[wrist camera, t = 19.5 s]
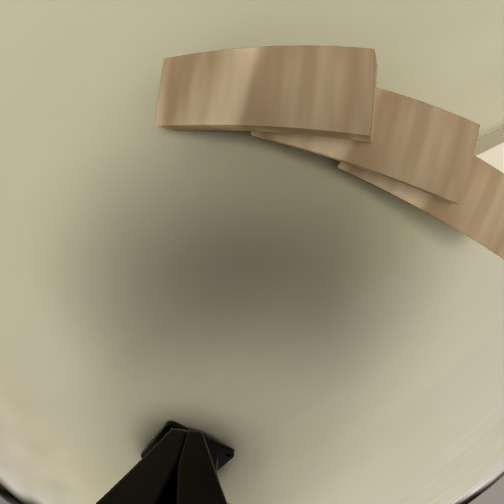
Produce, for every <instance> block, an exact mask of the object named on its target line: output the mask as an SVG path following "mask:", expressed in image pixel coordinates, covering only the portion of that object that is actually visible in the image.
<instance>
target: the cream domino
mask: <svg viewBox="0 0 504 504" xmlns="http://www.w3.org/2000/svg"><path fill="white" fill-rule="evenodd" d="M474 155H475V156H477V157H478V158H480V159H482V160H483V161H485V162H487V163H488V164H490V165H491V166H493V167H495V168H496V169H498V170H499V171H501V172H502V173H504V128H503V129H501V130H498V131H496V132H494V133H492V134H489V135H487V136H485V137H483V138H481V139H478V140H477V142H476V146H475V150H474Z"/></svg>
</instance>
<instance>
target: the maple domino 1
mask: <svg viewBox="0 0 504 504" xmlns="http://www.w3.org/2000/svg"><path fill="white" fill-rule="evenodd" d="M376 83H377V62H376V56H375V50H374V49H368V48H356V47H340V46H267V47H251V48H238V49H228V50H219V51H211V52H203V53H196V54H189V55H183V56H177V57H172V58H166V59H164V63H163V70H162V76H161V82H160V89H159V96H158V103H157V111H156V119H155V126H157V127H162V128H167V129H173V130H231V131H257V132H275V133H289V134H302V135H313V136H323V137H332V138H341V139H349V140H356V141H364V142H371V143H372V142H373V130H374V118H375V102H376Z"/></svg>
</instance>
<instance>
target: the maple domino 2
mask: <svg viewBox="0 0 504 504" xmlns="http://www.w3.org/2000/svg"><path fill="white" fill-rule="evenodd" d="M479 127H480V125H479V124H477V123H475V122H472V121H470V120H468V119H465V118H463V117H461V116H458V115H456V114H453V113H451V112H448V111H446V110H443V109H440V108H438V107H435V106H432V105H430V104H427V103H424V102H421V101H418V100H415V99H412V98H409V97H406V96H403V95H400V94H396V93H393V92H390V91H386V90H383V89H379V88H376V102H375V118H374V130H373V142H372V143H371V142H364V141H356V140H349V139H341V138H332V137H323V136H313V135H302V134H289V133H275V132H257V131H251V133H250V135H253V136H256V137H259V138H261V139H264V140H268V141H271V142H275V143H279V144H283V145H286V146H290V147H294V148H297V149H301V150H304V151H308V152H311V153H315V154H318V155H321V156H325V157H328V158H331V159H334V160H337V161H341V162H344V163H347V164H350V165H353V166H356V167H359V168H362V169H365V170H368V171H371V172H373V173H376V174H379V175H382V176H385V177H387V178H390V179H393V180H396V181H398V182H401V183H403V184H406V185H409V186H411V187H414V188H416V189H419V190H421V191H424V192H426V193H429V194H431V195H434V196H436V197H438V198H441V199H443V200H446V201H448V202H450V203H453V204H459V205H460V202H461V199H462V195H463V192H464V188H465V185H466V181H467V178H468V174H469V170H470V167H471V163H472V159H473V155H474V150H475V146H476V142H477V137H478V132H479Z"/></svg>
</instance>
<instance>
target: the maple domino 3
mask: <svg viewBox="0 0 504 504" xmlns="http://www.w3.org/2000/svg"><path fill="white" fill-rule="evenodd" d="M337 168H339V169H342V170H344V171H346V172H348V173H350V174H352V175H355V176H357V177H359V178H361V179H363V180H365V181H367V182H369V183H371V184H373V185H375V186H377V187H379V188H381V189H383V190H385V191H387V192H389V193H391V194H393V195H395V196H397V197H399V198H401V199H403V200H405V201H407V202H409V203H411V204H412V205H414V206H416V207H418V208H420V209H422V210H423V211H425V212H427V213H429V214H431V215H432V216H434V217H436V218H438V219H440V220H441V221H443V222H445V223H446V224H448V225H450V226H452V227H453V228H455V229H457V230H458V231H460V232H462V233H463V234H465V235H467V236H468V237H470V238H472V239H473V240H475V241H476V242H478V243H480V244H481V245H483V246H484V247H486V248H487V249H489V250H491V251H492V252H494V253H495V254H497V255H498V256H500V257H501V258H503V259H504V173H502V172H501V171H499V170H498V169H496V168H495V167H493V166H491V165H490V164H488V163H487V162H485V161H483V160H482V159H480V158H478V157H477V156H475V155H473V159H472V163H471V167H470V170H469V174H468V178H467V181H466V185H465V188H464V192H463V195H462V199H461V202H460V205H459V204H453V203H450V202H448V201H446V200H443V199H441V198H438V197H436V196H434V195H431V194H429V193H426V192H424V191H421V190H419V189H416V188H414V187H411V186H409V185H406V184H403V183H401V182H398V181H396V180H393V179H390V178H387V177H385V176H382V175H379V174H376V173H373V172H371V171H368V170H365V169H362V168H359V167H356V166H353V165H350V164H347V163H344V162H341V161H340V162H339V165H338V167H337Z"/></svg>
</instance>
